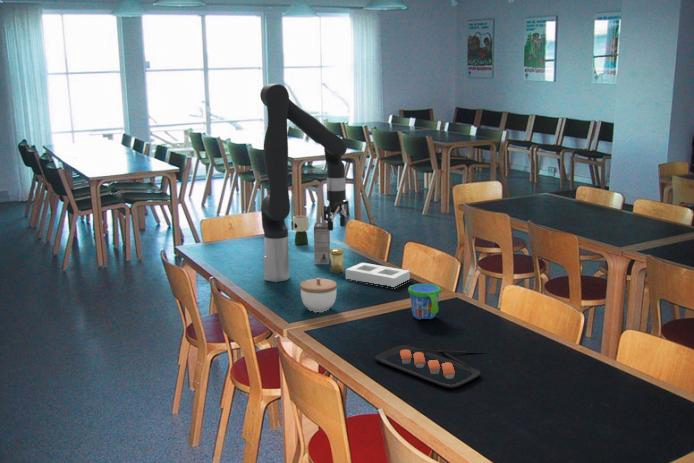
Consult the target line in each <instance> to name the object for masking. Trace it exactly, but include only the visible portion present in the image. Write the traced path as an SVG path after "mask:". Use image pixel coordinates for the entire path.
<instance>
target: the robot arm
mask: <svg viewBox="0 0 694 463" xmlns="http://www.w3.org/2000/svg"><path fill="white" fill-rule="evenodd" d="M259 95H260V96H259V97H260V100H261V103H262V104H263V105H264V106H265V107H266V110H267V126H266V130H265V135H264V140H263V163H264V168H265V169H264V170H265V171H266V172H265V173H266V175H267V180H268V183H269V194H268V195H266V196H265V197H264V198H263V200H262V201H261V202H262V203H261V207H260V210H261V212H260V213H261V225H262V226H261V227H262V230H263V233H264V234H263V235H264V236H263V237H264V239H263V241H264V256H263V257H262V258H263V280H264V281H268V282H273V283H278V282H285V281H287V280H289V279H290V262H289V231H288V227H287V225H286V221H285V220H286V219H287V218H288V217H289V214H290V210H291V201H290V193H289V192H290V191H289V143H288V141H289V137H288V136H289V135H288V134H289V133H288V121H289V122H291V123H292V124H293V125H295V127H297V128H298V129H299V130H300V131H301V132H303V134H305V135H306V136H307V137H309V138H310V139H311V140H312V141H314V142H315V143H317V144H319V145H320V146H322V147H323V151H324V158H325V162H326V200H327V201H328V205H327V204H326V205H324V206H323V220H324V221H326V223H327V225H328V230H330V231H331V232H332V231H334V219H335V217H336V216H337V215H339V216H340V217H339V226H340V227H346V218H347V216H349V215H350V206H349V200H346V197H347V196H346V195H347V194H346V191H347V190H346V186H347V185H346V174H345V173H346V170H345V169H346V168H345V164H344V162H343V160H342V157H343V156H344V155H345V154H346V153H347V152H348V147H347V146H348V145H347V144H346V141H345V140H344V139H343V138H341V137H340V136H339V135H338V134H336V133H334V132H332V131H331V130H330V129H329V128H327V127H326V126H325V125H324V124H323V123H322V122H320V121H319V120H318V119H317V118H316V117H314V116H312V115H311V114H309V113H308V112H307V111H306V110H304V109H302V107H301V108H300V107H299V106H298V105H296V104H295V103H294V102H293V101H292V100H291V99H290V95H289V91H288V89H287V88H286V87H285V85H283V84H280V83H268V84H266V85H264V86H263V87H262V88H261V90H260V94H259Z"/></svg>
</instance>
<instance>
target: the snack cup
mask: <svg viewBox="0 0 694 463" xmlns="http://www.w3.org/2000/svg"><path fill="white" fill-rule="evenodd" d="M407 290H408V293H409V297H410V306H411V313H412V317H414V318H415V319H417V320H421V319H430V320H432V319H434V318H435V317H436V316H437V314H438V313H439V298H440V296H439V295H440V294H441V292H442V289H441V287H440V286H439V285H436V284H432V283H415V284H412V285H410V286H408V289H407Z"/></svg>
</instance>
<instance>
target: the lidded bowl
mask: <svg viewBox="0 0 694 463" xmlns="http://www.w3.org/2000/svg"><path fill="white" fill-rule="evenodd" d="M337 287H338V284H337V282H336V281H334V280H332V279H328V278H320V277H317V278H311V279H310V278H309V279H307V280H303V281H302V282H300V284H299V288H300V298H301V301H302V303H303V305H304V306H305V307H306V308H307V309H308V311H309V310H310V312H311V311H313V312H312V313H317V312H319V313H325V312H324V311H326V312H328V311H329V310H330V308H332V306H333V305H334V304H335V302H336V299H337V292H338V289H337ZM327 310H328V311H327Z"/></svg>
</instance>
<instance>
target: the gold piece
mask: <svg viewBox="0 0 694 463" xmlns="http://www.w3.org/2000/svg"><path fill="white" fill-rule="evenodd" d="M344 253H345V249H343V248H337V247H335V248H334V247H333V248H330V272H331V273H332V274H341V272H342V273H344Z"/></svg>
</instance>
